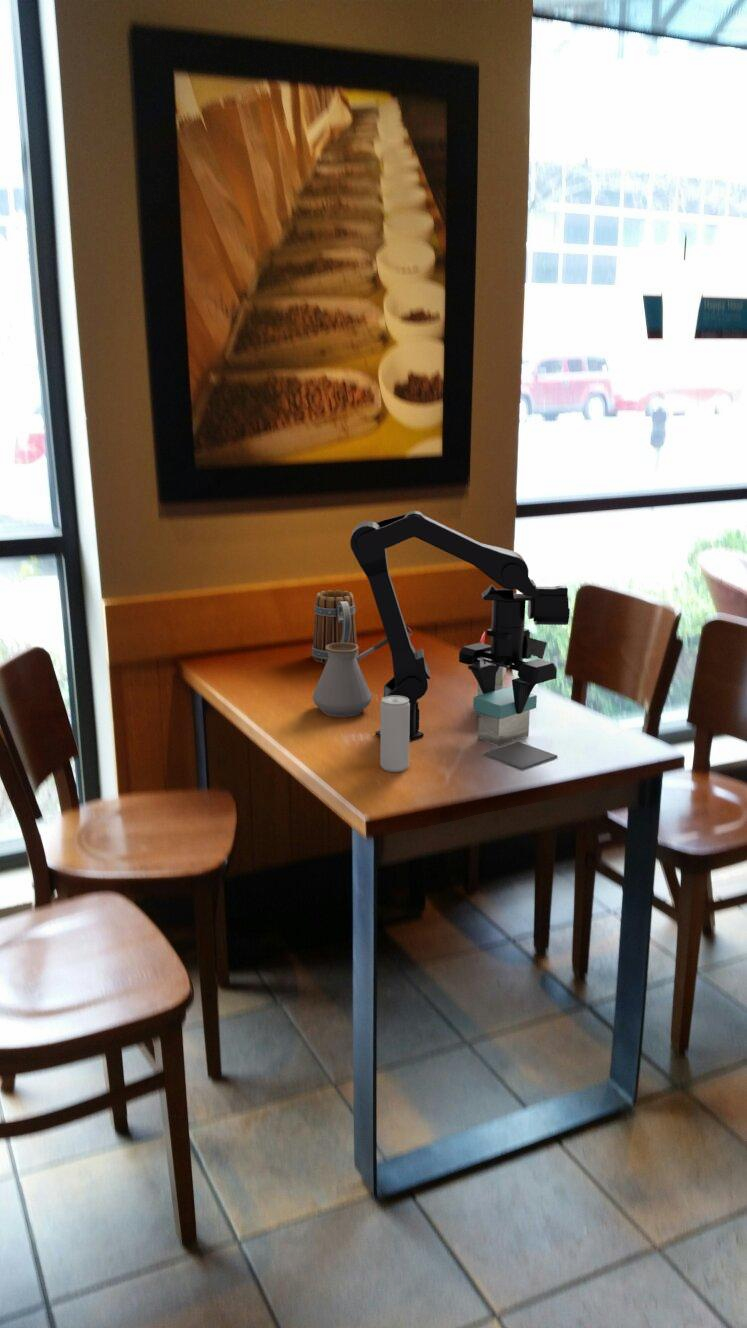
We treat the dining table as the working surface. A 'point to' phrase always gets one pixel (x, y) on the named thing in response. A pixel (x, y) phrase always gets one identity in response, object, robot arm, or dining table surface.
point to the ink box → (500, 675)
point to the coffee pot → (344, 681)
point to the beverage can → (394, 733)
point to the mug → (333, 622)
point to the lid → (501, 703)
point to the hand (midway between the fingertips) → (504, 708)
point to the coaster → (520, 755)
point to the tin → (503, 728)
